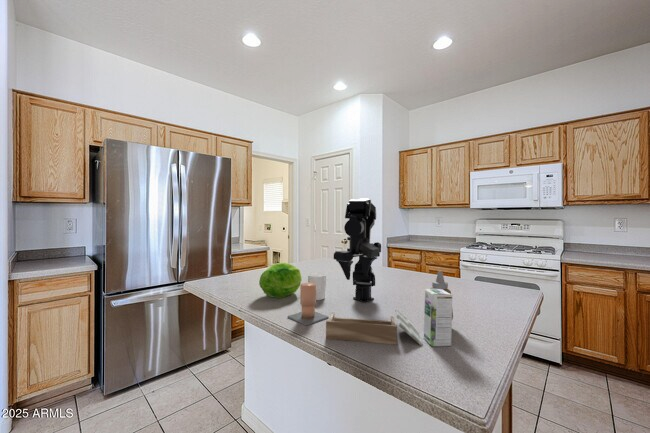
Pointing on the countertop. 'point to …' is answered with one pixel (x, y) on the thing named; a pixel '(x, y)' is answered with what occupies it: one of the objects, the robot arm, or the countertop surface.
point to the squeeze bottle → (441, 284)
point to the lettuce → (280, 280)
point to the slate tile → (307, 322)
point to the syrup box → (438, 317)
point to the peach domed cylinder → (308, 299)
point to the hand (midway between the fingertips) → (357, 277)
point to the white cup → (318, 284)
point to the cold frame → (369, 329)
